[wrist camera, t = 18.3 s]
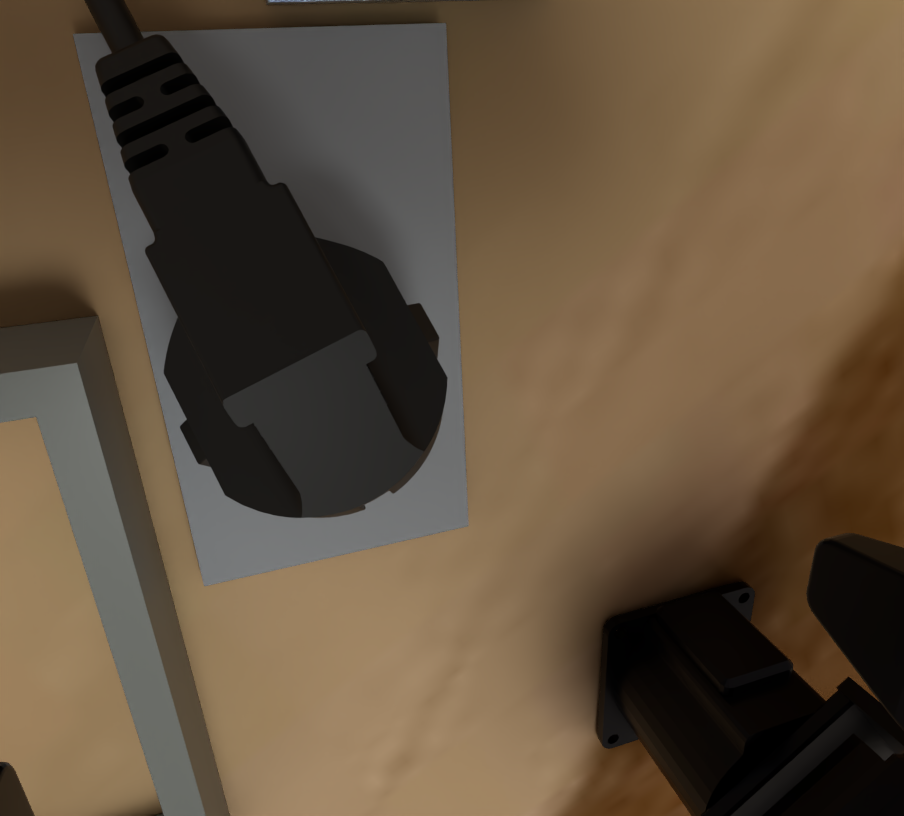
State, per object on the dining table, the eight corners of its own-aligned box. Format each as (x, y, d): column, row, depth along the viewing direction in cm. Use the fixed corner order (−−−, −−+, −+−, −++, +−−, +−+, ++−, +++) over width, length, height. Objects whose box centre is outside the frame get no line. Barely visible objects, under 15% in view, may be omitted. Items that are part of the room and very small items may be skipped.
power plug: (197, -144, 13) (512, 415, 12) (278, 93, 21) (477, 454, 19) (-91, -22, 13) (205, 582, 11) (98, 177, 20) (291, 556, 19)
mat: (462, 516, 23) (468, 526, 22) (203, 574, 21) (204, 586, 20) (438, 25, 17) (446, 22, 17) (77, 35, 15) (72, 34, 15)
